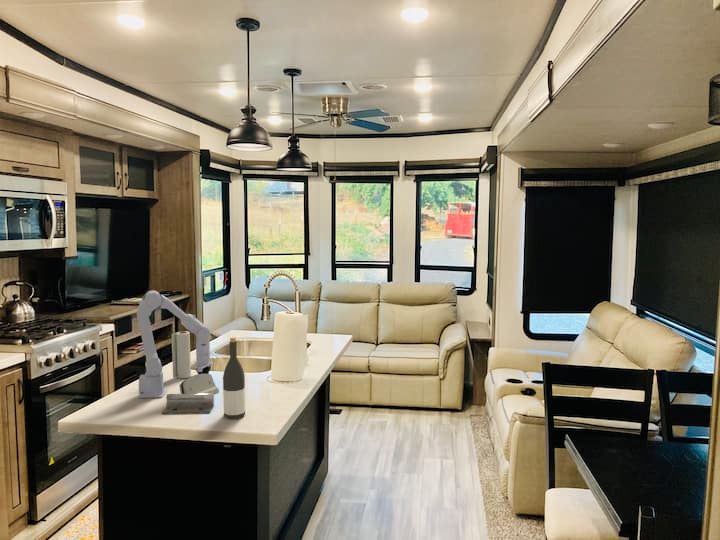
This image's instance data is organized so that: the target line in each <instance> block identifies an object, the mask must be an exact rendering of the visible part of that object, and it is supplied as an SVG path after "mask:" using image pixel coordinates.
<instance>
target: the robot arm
mask: <svg viewBox="0 0 720 540" xmlns="http://www.w3.org/2000/svg"><path fill="white" fill-rule="evenodd" d="M157 308H160V309H163V310H165V309H166V310H168V311H169V312H170V313H172V315H174V316H176V317H177V318H178V319H180V323H181V324H180V325H182V326H184V328H185V329H187V330H188V332H190V333H191V334H194V335H195V336H196V338H195V339H196V343H195V355H196V356H195V357H196V363H195V365H196V368H195V371H196V373H197V374H210V371H211V368H212V366H213V365H214V363H213V361H212V362H211V348H210V347H211V345H210V344H211V343H210V337H211V331H210V329H209V328H208V326H206V324H205V323H204V322H201V321H200V320H199V319H197V318H196V317H197V316H196V315H195V314H191V313H185V312H184V311H183V310H182V309H181V308H180V307H178V305H176V304H175V303H174V302H173V301H172V300H170V299H169V298H168V297H166V296H165V295H163V294H160V292H159V291H157V290H155V289H153V290H148V291H147V292H146V293H145V294H144V295H143V296H142V298H141V300H140V303H139V305H138V306H137V310H136V317H137V323H138V326H139V331H140V337H141V341H142V345H143V350H144V354H145V358H146V359H145V372H144V374H140V375H139V378H138V398H139V399H140V398H141V399H143V398H144V399H145V398H146V399H147V398H148V399H150V398H162V397H164V395H166V393H167V390H164V372H163V365H162V361H161V359H160V357H158V353H157V349H156V344H155V340H154V334H153V330H152V325H151V322H150V321H151V320H150V315H151V314H152V312H153V311H154V310H156V309H157Z"/></svg>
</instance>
